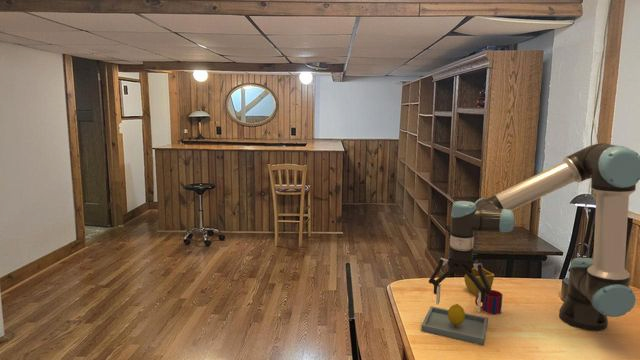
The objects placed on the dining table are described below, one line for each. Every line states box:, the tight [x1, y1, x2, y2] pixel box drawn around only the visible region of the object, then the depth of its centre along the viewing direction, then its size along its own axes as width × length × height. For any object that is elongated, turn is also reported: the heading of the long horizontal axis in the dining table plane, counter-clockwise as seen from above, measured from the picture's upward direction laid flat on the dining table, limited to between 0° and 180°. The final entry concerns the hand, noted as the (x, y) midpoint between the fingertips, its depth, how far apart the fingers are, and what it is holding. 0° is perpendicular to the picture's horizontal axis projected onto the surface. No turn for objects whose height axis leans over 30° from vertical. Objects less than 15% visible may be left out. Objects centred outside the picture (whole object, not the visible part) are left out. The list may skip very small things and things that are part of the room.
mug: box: [474, 289, 504, 315], centre depth 169 cm, size 7×10×7 cm
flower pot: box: [463, 267, 495, 296], centre depth 184 cm, size 9×9×9 cm
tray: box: [420, 305, 489, 346], centre depth 156 cm, size 20×16×2 cm
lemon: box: [448, 303, 466, 326], centre depth 155 cm, size 6×6×8 cm
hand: (458, 306), depth 155 cm, fingers open, 13 cm apart
